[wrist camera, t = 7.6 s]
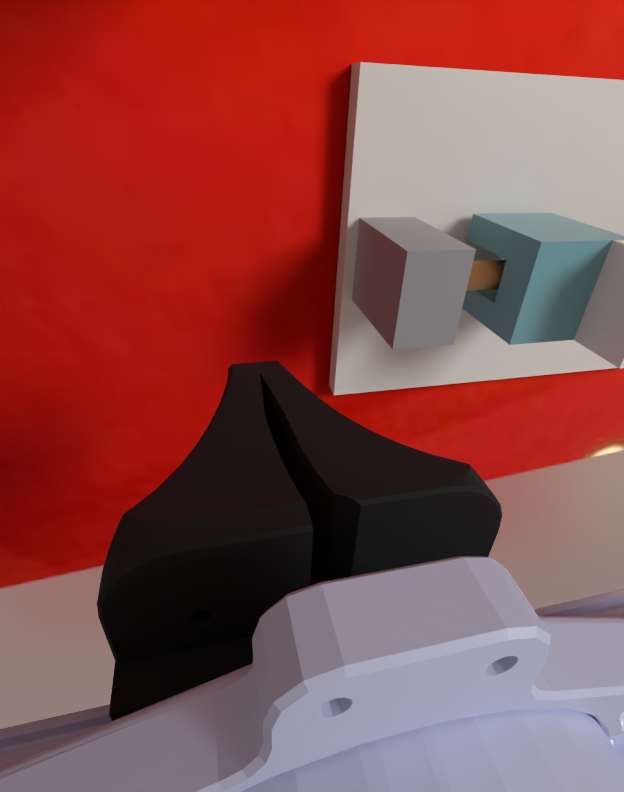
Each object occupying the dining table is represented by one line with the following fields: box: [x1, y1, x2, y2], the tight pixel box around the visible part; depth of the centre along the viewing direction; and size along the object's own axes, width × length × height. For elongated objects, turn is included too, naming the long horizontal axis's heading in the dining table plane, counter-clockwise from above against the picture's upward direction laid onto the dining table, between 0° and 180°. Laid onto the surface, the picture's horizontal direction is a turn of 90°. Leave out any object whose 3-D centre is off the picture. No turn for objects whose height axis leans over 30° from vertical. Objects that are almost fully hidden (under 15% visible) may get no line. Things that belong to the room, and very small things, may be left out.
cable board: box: [329, 62, 624, 395], centre depth 20 cm, size 14×20×6 cm
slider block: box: [462, 213, 624, 368], centre depth 18 cm, size 4×4×7 cm
